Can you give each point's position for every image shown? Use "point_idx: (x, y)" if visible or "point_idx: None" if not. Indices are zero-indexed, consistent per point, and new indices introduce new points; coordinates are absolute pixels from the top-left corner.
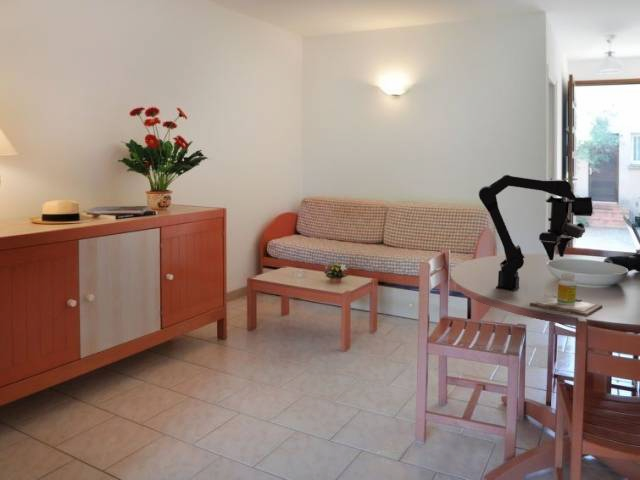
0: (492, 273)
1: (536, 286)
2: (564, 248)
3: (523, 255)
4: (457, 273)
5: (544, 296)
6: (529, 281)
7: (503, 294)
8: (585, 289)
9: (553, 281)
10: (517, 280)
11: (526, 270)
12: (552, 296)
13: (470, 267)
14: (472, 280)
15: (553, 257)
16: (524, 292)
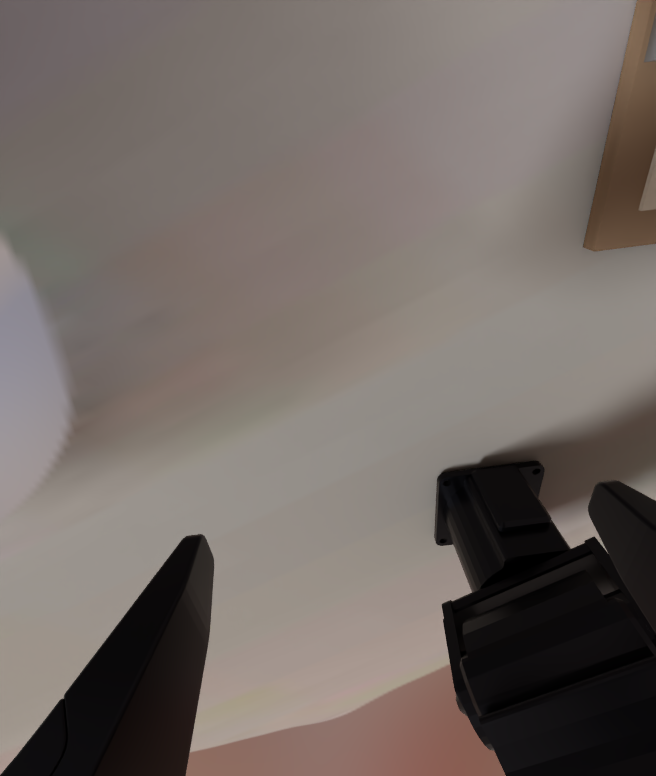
0: (239, 659)
1: (316, 445)
2: (144, 688)
3: (575, 700)
4: (364, 696)
5: (651, 242)
6: (232, 521)
7: (645, 443)
8: (57, 175)
9: (86, 457)
10: (518, 502)
11: (14, 638)
12: (620, 199)
13: (223, 725)
14: (440, 629)
15: (642, 508)
16: (526, 407)
